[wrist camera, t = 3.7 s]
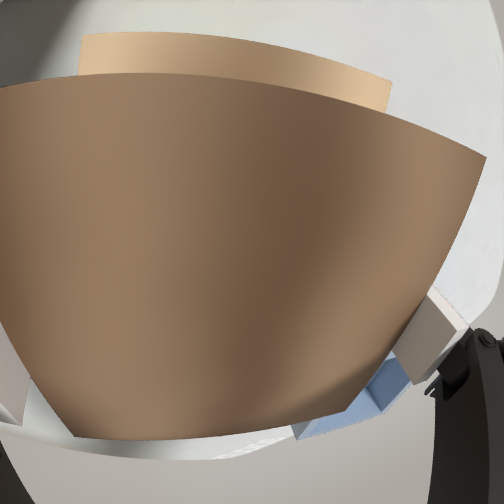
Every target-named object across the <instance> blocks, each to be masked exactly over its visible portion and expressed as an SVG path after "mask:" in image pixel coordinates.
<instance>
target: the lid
mask: <svg viewBox="0 0 504 504" xmlns="http://www.w3.org/2000/svg"><path fill="white" fill-rule="evenodd" d="M486 158H487V157H485V156H483V155H481V154H480V153H478V152H476V151H474V150H472V149H470V148H468V147H466V146H464V145H461V144H459V143H457V142H455V141H453V140H451V139H449V138H446V137H444V136H442V135H440V134H437V133H435V132H433V131H430V130H428V129H425V128H423V127H420V126H418V125H415V124H413V123H410V122H407V121H405V120H402V119H399V118H397V117H394V116H391V115H388V114H385V113H382V112H379V111H376V110H373V109H370V108H367V107H363V106H360V105H357V104H353V103H350V102H346V101H343V100H339V99H335V98H332V97H328V96H324V95H320V94H315V93H311V92H307V91H302V90H298V89H293V88H288V87H283V86H277V85H272V84H266V83H260V82H254V81H247V80H240V79H232V78H224V77H214V76H204V75H191V74H173V73H108V74H91V75H79V76H69V77H60V78H52V79H45V80H39V81H33V82H27V83H21V84H16V85H11V86H7V87H2V88H0V322H1V324H2V326H3V328H4V330H5V332H6V334H7V336H8V338H9V340H10V342H11V344H12V345H13V347H14V349H15V351H16V353H17V354H18V356H19V358H20V360H21V361H22V363H23V365H24V366H25V368H26V370H27V371H28V373H29V374H30V377H31V378H32V380H33V381H34V383H35V384H36V386H37V387H38V389H39V390H40V392H41V393H42V395H43V396H44V398H45V399H46V400H47V402H48V403H49V405H50V406H51V407H52V409H53V410H54V411H55V413H56V414H57V415H58V417H59V418H60V419H61V421H62V422H63V423H64V424H65V426H66V427H67V428H68V429H69V431H70V432H71V433H72V434H73V435H74V437H81V438H93V439H109V440H176V439H193V438H205V437H215V436H225V435H233V434H240V433H247V432H254V431H260V430H266V429H271V428H277V427H282V426H287V425H292V424H296V423H301V422H305V421H310V420H314V419H318V418H322V417H326V416H330V415H333V414H337V413H340V412H344V411H346V409H347V408H348V407H349V406H350V405H351V403H352V402H353V401H354V400H355V398H356V397H357V396H358V395H359V393H360V392H361V391H362V390H363V388H364V387H365V386H366V385H367V383H368V382H369V381H370V379H371V378H372V377H373V375H374V374H375V373H376V371H377V370H378V369H379V367H380V366H381V365H382V363H383V362H384V360H385V359H386V358H387V356H388V355H389V353H390V352H391V350H392V348H393V347H394V346H395V344H396V343H397V341H398V340H399V338H400V337H401V335H402V334H403V332H404V330H405V329H406V327H407V326H408V324H409V323H410V321H411V319H412V318H413V316H414V314H415V313H416V311H417V309H418V308H419V306H420V304H421V303H422V301H423V299H424V298H425V296H426V294H427V293H428V291H429V289H430V287H431V286H432V284H433V282H434V280H435V278H436V276H437V275H438V273H439V271H440V269H441V267H442V265H443V263H444V261H445V259H446V257H447V255H448V253H449V251H450V249H451V247H452V245H453V242H454V240H455V238H456V236H457V234H458V231H459V229H460V227H461V225H462V222H463V220H464V218H465V215H466V213H467V210H468V208H469V206H470V203H471V200H472V198H473V195H474V193H475V190H476V187H477V185H478V182H479V179H480V176H481V173H482V170H483V167H484V164H485V161H486Z"/></svg>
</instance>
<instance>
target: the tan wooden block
mask: <svg viewBox="0 0 504 504" xmlns="http://www.w3.org/2000/svg"><path fill="white" fill-rule="evenodd" d="M108 73H173V74H191V75H204V76H214V77H224V78H232V79H240V80H247V81H254V82H260V83H266V84H272V85H277V86H283V87H288V88H293V89H298V90H302V91H307V92H311V93H315V94H320V95H324V96H328V97H332V98H335V99H339V100H343V101H346V102H350V103H353V104H357V105H360V106H363V107H367V108H370V109H373V110H376V111H379V112H382V113H385V112H386V108H387V103H388V99H389V95H390V91H391V86H392V82H391V81H388V80H386V79H383V78H381V77H378V76H376V75H373V74H371V73H368V72H365V71H362V70H360V69H357V68H354V67H351V66H348V65H345V64H342V63H339V62H336V61H333V60H329V59H326V58H323V57H319V56H316V55H312V54H308V53H304V52H301V51H297V50H292V49H288V48H284V47H279V46H275V45H270V44H265V43H259V42H254V41H248V40H242V39H235V38H228V37H220V36H212V35H202V34H190V33H173V32H118V33H101V34H90V35H82V42H81V50H80V58H79V67H78V76H79V75H91V74H108Z"/></svg>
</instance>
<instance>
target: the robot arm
mask: <svg viewBox="0 0 504 504" xmlns="http://www.w3.org/2000/svg"><path fill="white" fill-rule="evenodd" d="M392 352H393V353H394V355H395V357H396V358H397V360H398V361H399V363H400V364H401V366H402V367H403V369H404V371H405V372H406V374H407V375H408V377H409V378H410V380H411V382H412V383H413V385H416V384H418V383H421V382H423V381H426V380H427V379H428V378H429V377H430V376H431V375H432V374H433V373H434V372H435V370H436V369H437V370H438V372H439V373H440V374H439V375H438V377H437V378H436V379H435V380H434V381H433V382H432V383H431V384H430V385H429V387H428V388H427V389H426V390H425V393H424V394H425V395H427V394H428V393H429V392H430V391H431V390H432V389H433V388H435V390H434V391H433V392H432V393H431V394H430V397H434V398H435V437H434V452H433V464H432V474H431V483H430V490H429V496H428V503H427V504H504V337H503V338H502V340H496V339H495V338H494V337H493V335H491V334H490V333H489V332H488V331H486V330H484V329H480V328H478V329H475V330H474V331H473V330H472V329H471V328H470V327H469V325H468V324H467V323H466V322H465V320H464V319H463V318H462V317H461V316H460V314H459V313H458V312H457V311H456V310H455V309H454V307H453V306H452V305H451V304H450V303H449V302H448V301H447V300H446V298H444V296H443V295H442V294H441V293H440V292H439V291H438V289H437V288H436V287H435V286H434V285H433V284H432V286H431V287H430V289H429V291H428V293H427V294H426V296H425V298H424V299H423V301H422V303H421V304H420V306H419V308H418V309H417V311H416V313H415V314H414V316H413V318H412V319H411V321H410V323H409V324H408V326H407V327H406V329H405V330H404V332H403V334H402V335H401V337H400V338H399V340H398V341H397V343H396V344H395V346H394V347H393V348H392ZM29 381H30V374H29V373H28V371H27V370H26V368H25V366H24V365H23V363H22V361H21V360H20V358H19V356H18V354H17V353H16V351H15V349H14V347H13V345H12V344H11V342H10V340H9V338H8V336H7V334H6V332H5V330H4V328H3V326H2V324H1V322H0V421H1V422H5V423H10V424H14V425H19V426H22V421H23V414H24V408H25V402H26V396H27V391H28V386H29ZM0 504H35V503H34V502H33V500H32V498H31V497H30V495H29V494H28V492H27V491H26V489H25V487H24V486H23V484H22V482H21V480H20V478H19V477H18V475H17V473H16V471H15V469H14V468H13V466H12V464H11V462H10V460H9V458H8V456H7V454H6V452H5V450H4V448H3V446H2V444H1V441H0Z"/></svg>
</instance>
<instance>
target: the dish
mask: <svg viewBox="0 0 504 504" xmlns="http://www.w3.org/2000/svg"><path fill="white" fill-rule="evenodd" d="M411 384H412V382H411V380H410V378H409V377H408V375H407V374H406V372H405V371H404V369H403V367H402V366H401V364H400V363H399V361H398V360H397V358H396V357H395V355H394V353H393V352H392V350H391V352H390V353H389V355H388V356H387V358H386V359H385V360H384V362H383V363H382V365H381V366H380V367H379V369H378V370H377V371H376V373H375V374H374V375H373V377H372V378H371V379H370V381H369V382H368V383H367V385H366V386H365V387H364V388H363V390H362V391H361V392H360V393H359V395H358V396H357V397H356V398H355V400H354V401H353V402H352V403H351V405H350V406H349V407H348V408H347V409H346V411H344V412H340V413H337V414H333V415H330V416H326V417H322V418H318V419H314V420H310V421H305V422H301V423H296V424H292V425H291V427H292V430H293V433H294V435H295V438H296V440H300V439H304V438H308V437H312V436H315V435H319V434H323V433H327V432H330V431H334V430H337V429H340V428H344V427H347V426H350V425H353V424H356V423H359V422H362V421H365V420H368V419H370V418H374V417H376V416H379V415H382V414H384V413H385V412H386V411H387V410H388V409H389V408H390V407H391V406H392V405H393V404H394V403H395V402H396V401H397V400H398V399H399V397H400V396H401V395H402V394H403V393H404V392H405V391H406V390H407V389H408V388H409V387H410V385H411Z"/></svg>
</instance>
